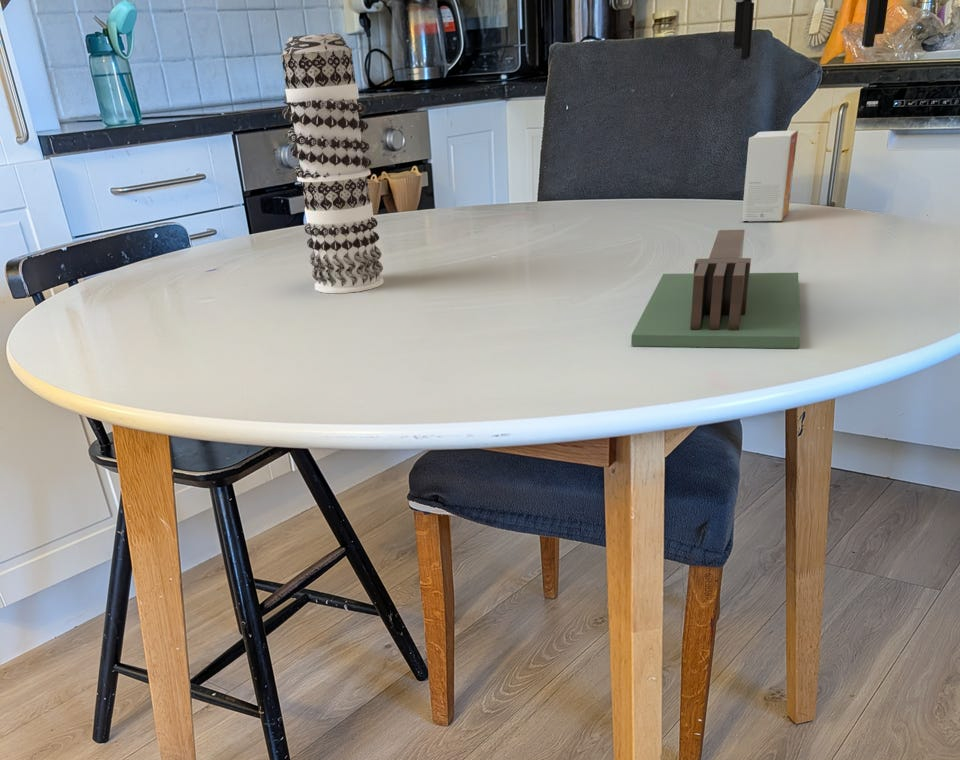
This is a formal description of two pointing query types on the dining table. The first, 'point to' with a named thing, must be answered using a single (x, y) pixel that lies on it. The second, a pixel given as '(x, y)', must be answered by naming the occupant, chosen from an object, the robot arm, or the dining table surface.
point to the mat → (761, 326)
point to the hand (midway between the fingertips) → (805, 53)
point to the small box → (769, 175)
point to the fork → (721, 282)
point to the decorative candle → (331, 162)
